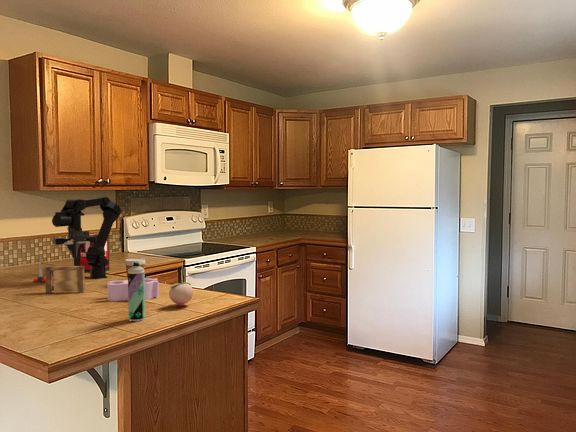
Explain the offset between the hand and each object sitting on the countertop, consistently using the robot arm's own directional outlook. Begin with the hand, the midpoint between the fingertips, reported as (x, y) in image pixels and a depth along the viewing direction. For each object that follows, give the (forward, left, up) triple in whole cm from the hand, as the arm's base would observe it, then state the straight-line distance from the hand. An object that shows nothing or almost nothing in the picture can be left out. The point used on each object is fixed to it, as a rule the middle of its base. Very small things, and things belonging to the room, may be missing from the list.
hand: (75, 257), depth 224 cm
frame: (+11, +19, -12) cm, 25 cm away
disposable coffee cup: (-19, +24, -12) cm, 33 cm away
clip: (-7, +48, -12) cm, 50 cm away
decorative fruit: (-15, +74, -12) cm, 76 cm away
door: (+10, +19, -11) cm, 24 cm away
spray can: (+6, +80, -12) cm, 81 cm away
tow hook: (+9, -16, -12) cm, 22 cm away
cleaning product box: (-18, -29, -12) cm, 36 cm away
